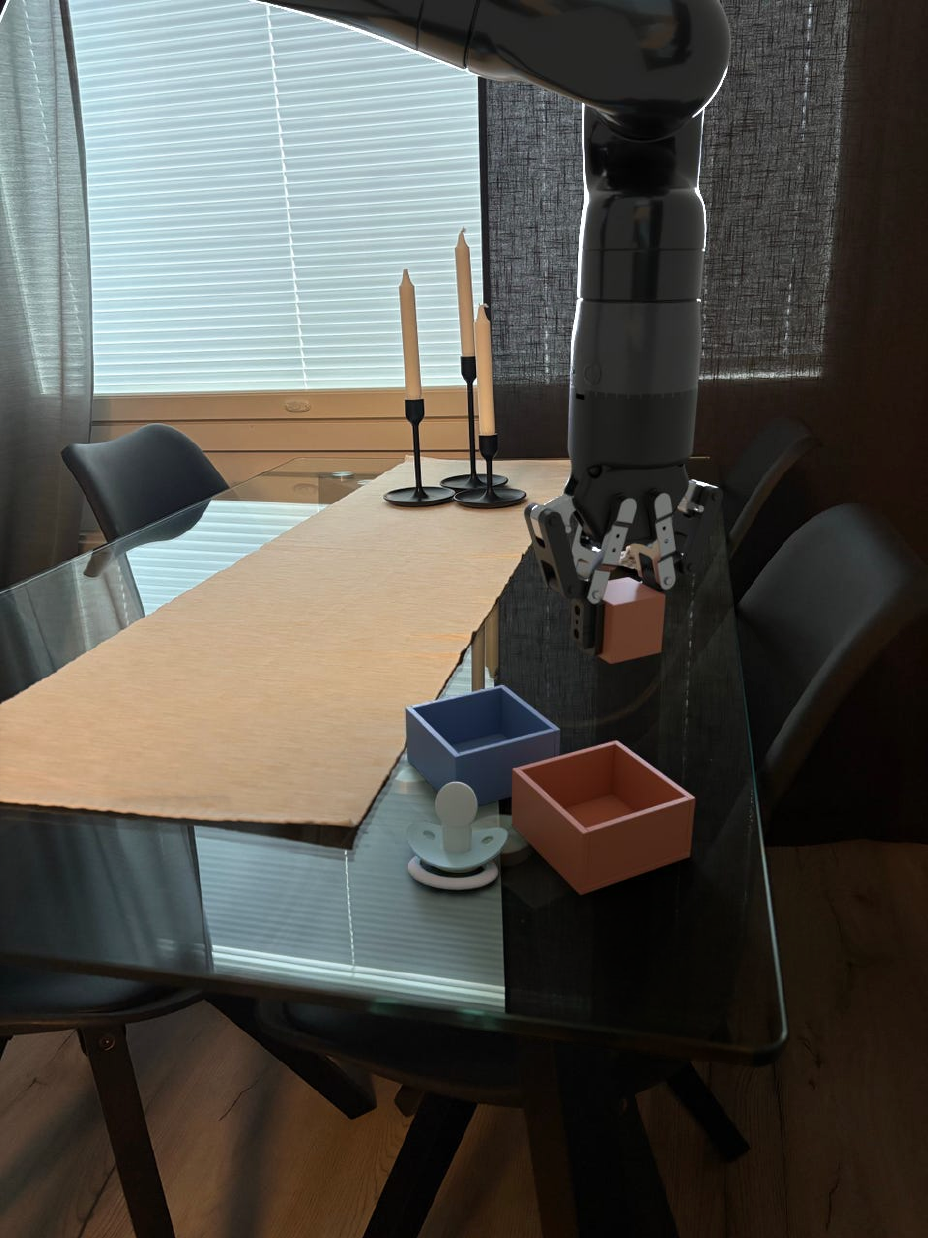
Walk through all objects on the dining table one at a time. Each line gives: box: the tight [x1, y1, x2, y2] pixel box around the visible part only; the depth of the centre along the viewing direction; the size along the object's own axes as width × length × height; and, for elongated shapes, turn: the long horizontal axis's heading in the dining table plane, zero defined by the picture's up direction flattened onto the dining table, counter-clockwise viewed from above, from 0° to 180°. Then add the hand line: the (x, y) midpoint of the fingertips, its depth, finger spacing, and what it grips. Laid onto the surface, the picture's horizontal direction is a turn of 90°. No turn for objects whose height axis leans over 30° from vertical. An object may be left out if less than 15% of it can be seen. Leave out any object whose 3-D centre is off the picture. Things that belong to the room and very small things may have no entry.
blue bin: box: [404, 684, 561, 807], centre depth 80 cm, size 10×10×5 cm
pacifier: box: [405, 782, 509, 891], centre depth 67 cm, size 7×6×6 cm
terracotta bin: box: [511, 739, 696, 896], centre depth 70 cm, size 10×10×5 cm
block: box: [596, 576, 665, 665], centre depth 62 cm, size 4×4×4 cm
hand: (618, 643), depth 63 cm, fingers closed on block, 4 cm apart
